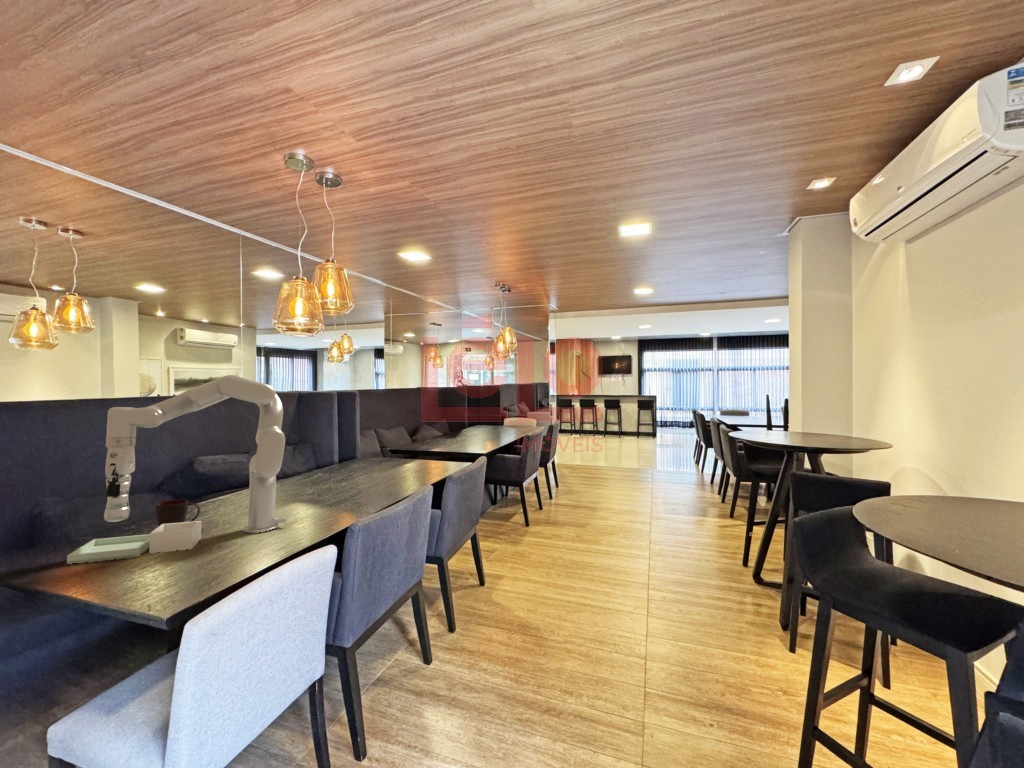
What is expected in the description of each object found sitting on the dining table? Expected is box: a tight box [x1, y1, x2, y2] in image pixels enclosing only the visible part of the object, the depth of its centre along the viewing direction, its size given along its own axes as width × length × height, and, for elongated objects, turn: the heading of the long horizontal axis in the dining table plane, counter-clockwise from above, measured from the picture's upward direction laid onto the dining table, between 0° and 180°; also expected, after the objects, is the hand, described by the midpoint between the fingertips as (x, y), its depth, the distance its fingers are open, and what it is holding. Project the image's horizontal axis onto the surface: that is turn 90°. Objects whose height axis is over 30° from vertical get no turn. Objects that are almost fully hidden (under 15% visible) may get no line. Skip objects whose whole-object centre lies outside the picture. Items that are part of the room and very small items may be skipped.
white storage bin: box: [148, 520, 202, 554], centre depth 149 cm, size 12×11×7 cm
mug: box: [155, 498, 201, 527], centre depth 165 cm, size 10×14×12 cm
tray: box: [66, 533, 150, 565], centre depth 142 cm, size 18×16×3 cm
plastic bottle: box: [103, 473, 132, 523], centre depth 143 cm, size 6×7×20 cm
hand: (118, 493), depth 143 cm, fingers closed on plastic bottle, 6 cm apart
